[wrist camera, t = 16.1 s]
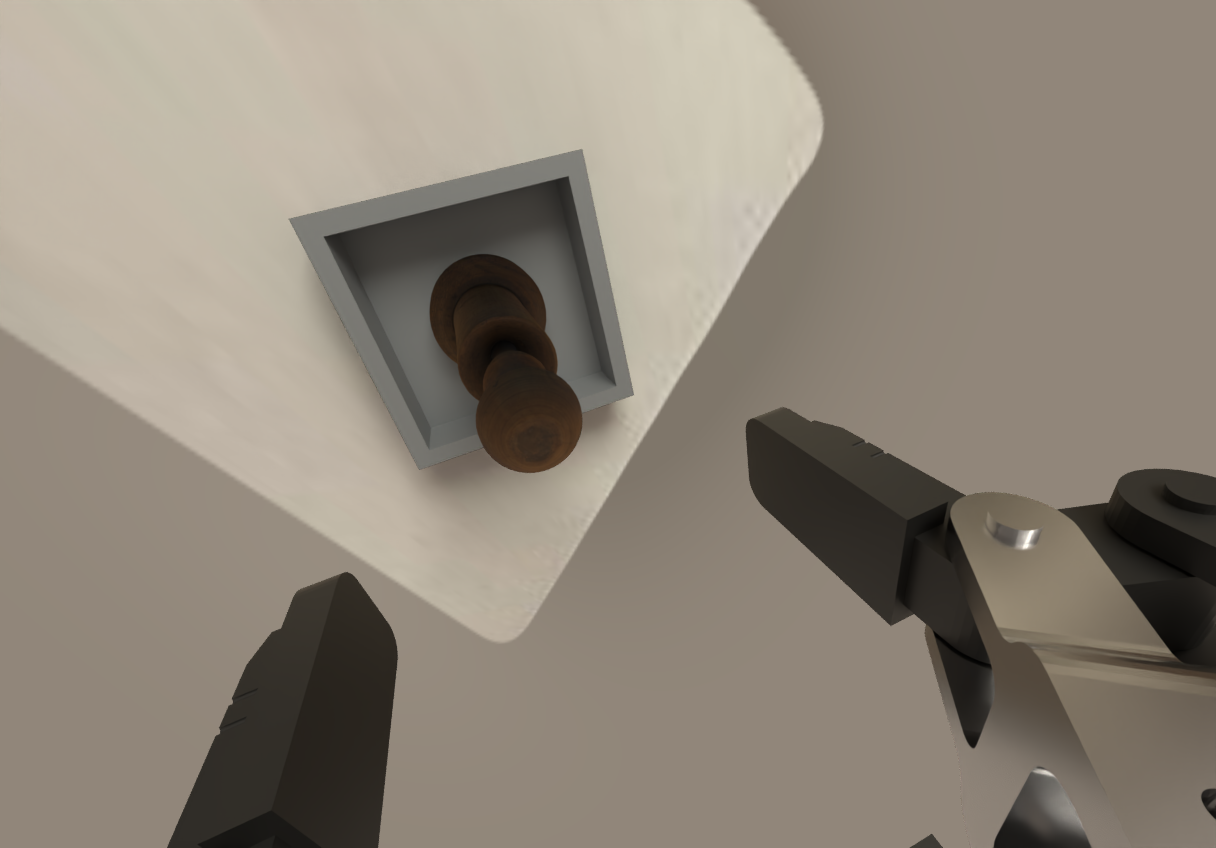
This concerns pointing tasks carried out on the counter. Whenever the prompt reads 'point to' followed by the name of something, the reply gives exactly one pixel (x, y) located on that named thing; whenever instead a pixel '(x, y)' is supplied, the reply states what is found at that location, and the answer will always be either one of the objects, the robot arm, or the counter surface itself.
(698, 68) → the counter surface
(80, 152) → the counter surface
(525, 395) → the turned wooden knob
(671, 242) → the counter surface
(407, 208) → the tray
